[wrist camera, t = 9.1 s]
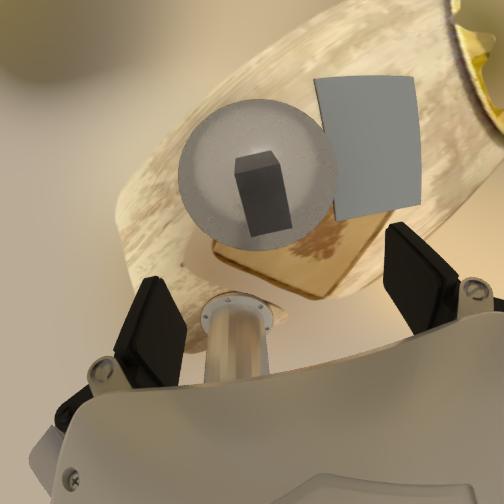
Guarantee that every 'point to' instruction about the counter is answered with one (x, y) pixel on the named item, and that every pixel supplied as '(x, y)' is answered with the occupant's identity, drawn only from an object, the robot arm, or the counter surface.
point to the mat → (372, 142)
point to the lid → (258, 175)
